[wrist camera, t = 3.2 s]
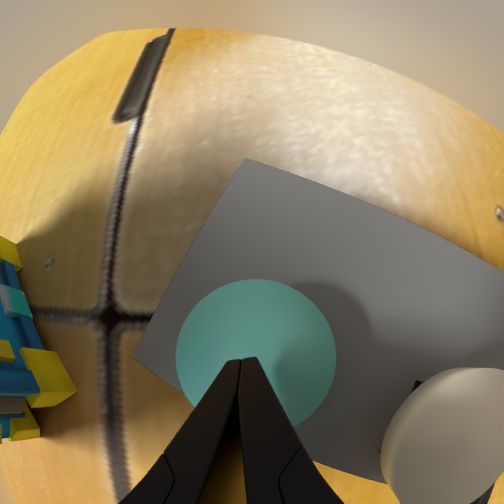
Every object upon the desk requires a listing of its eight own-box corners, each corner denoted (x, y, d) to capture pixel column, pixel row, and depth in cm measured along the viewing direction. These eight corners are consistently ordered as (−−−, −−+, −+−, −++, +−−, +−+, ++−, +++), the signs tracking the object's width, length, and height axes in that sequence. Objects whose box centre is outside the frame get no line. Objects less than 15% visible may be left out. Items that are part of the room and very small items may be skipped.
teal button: (291, 426, 12) (286, 460, 7) (196, 375, 14) (152, 383, 9) (342, 330, 13) (363, 319, 9) (245, 284, 15) (221, 254, 10)
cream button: (429, 480, 8) (473, 518, 4) (341, 455, 10) (360, 505, 5) (479, 383, 9) (541, 386, 5) (397, 349, 11) (448, 346, 6)
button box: (417, 457, 13) (465, 496, 6) (190, 357, 18) (131, 356, 11) (476, 317, 16) (541, 296, 9) (264, 221, 21) (245, 158, 14)
